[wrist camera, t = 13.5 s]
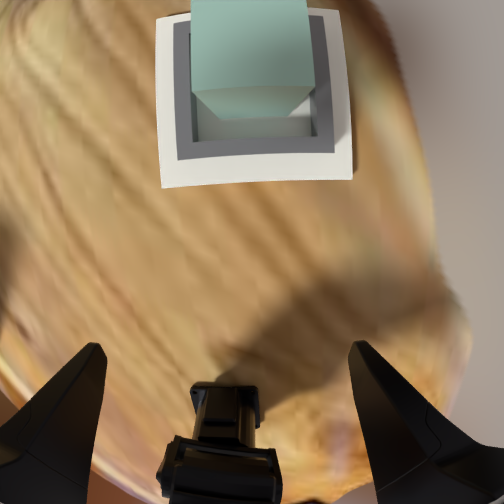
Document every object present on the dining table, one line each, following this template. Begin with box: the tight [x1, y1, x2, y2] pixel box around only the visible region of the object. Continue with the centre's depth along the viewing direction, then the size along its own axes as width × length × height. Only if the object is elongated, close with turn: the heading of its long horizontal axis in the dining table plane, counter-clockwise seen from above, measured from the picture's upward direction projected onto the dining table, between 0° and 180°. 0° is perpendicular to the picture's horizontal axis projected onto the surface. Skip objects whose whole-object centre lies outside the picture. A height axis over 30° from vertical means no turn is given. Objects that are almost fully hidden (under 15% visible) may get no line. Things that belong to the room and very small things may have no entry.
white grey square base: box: [156, 7, 352, 189], centre depth 16 cm, size 13×13×3 cm
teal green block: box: [191, 0, 315, 119], centre depth 13 cm, size 4×4×9 cm
